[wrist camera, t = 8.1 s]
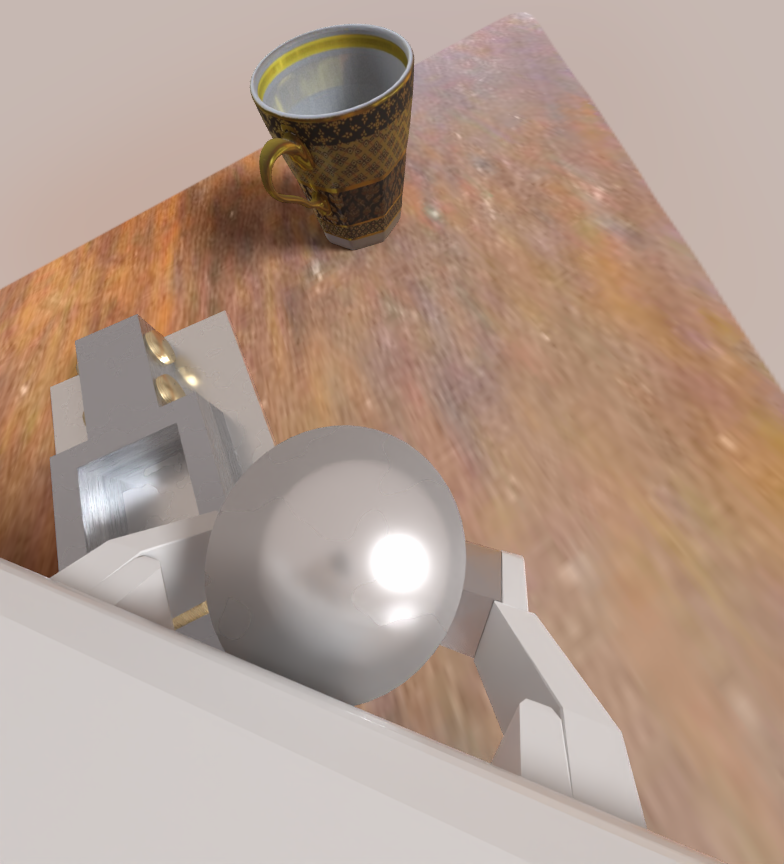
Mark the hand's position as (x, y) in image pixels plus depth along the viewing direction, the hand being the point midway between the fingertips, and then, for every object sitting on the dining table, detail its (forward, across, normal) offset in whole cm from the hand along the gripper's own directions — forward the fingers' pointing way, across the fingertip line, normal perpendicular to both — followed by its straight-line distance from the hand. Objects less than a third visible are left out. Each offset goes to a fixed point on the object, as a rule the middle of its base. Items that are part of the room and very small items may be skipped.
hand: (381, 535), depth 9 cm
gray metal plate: (+7, +15, +9) cm, 19 cm away
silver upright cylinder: (+3, 0, +4) cm, 5 cm away
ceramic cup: (+25, +12, -9) cm, 29 cm away
